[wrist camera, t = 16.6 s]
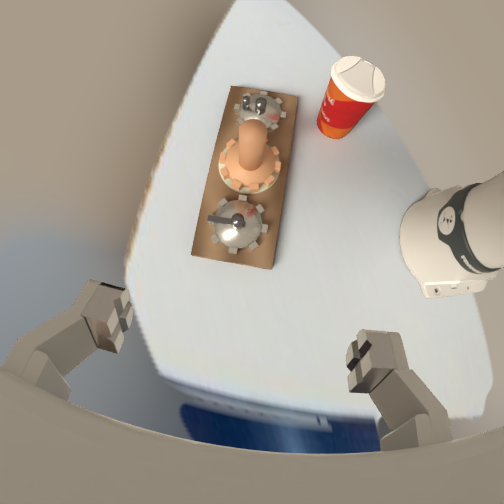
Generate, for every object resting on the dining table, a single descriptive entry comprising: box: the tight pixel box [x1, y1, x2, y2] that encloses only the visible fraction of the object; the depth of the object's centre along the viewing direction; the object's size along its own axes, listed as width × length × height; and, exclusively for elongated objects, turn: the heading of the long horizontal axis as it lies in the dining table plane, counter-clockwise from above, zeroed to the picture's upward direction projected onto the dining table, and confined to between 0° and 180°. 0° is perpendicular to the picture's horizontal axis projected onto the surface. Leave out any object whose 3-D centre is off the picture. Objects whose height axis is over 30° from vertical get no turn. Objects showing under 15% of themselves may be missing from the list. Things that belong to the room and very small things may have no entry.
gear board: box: [191, 86, 298, 270], centre depth 42 cm, size 11×28×2 cm, turn 170°
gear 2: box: [207, 195, 268, 255], centre depth 39 cm, size 8×8×4 cm
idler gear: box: [219, 119, 281, 193], centre depth 36 cm, size 8×8×10 cm
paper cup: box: [317, 56, 385, 139], centre depth 38 cm, size 8×8×14 cm
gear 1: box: [234, 91, 286, 134], centre depth 41 cm, size 8×8×4 cm
